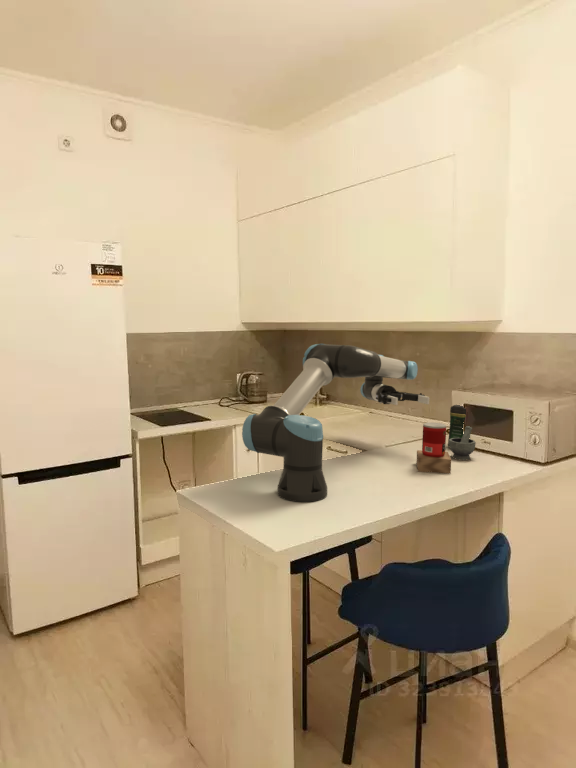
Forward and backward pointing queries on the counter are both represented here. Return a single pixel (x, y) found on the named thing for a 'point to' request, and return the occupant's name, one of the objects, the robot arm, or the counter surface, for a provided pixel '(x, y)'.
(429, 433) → the canned food
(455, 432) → the coffee jar
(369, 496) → the counter surface
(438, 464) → the block
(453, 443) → the mortar and pestle
